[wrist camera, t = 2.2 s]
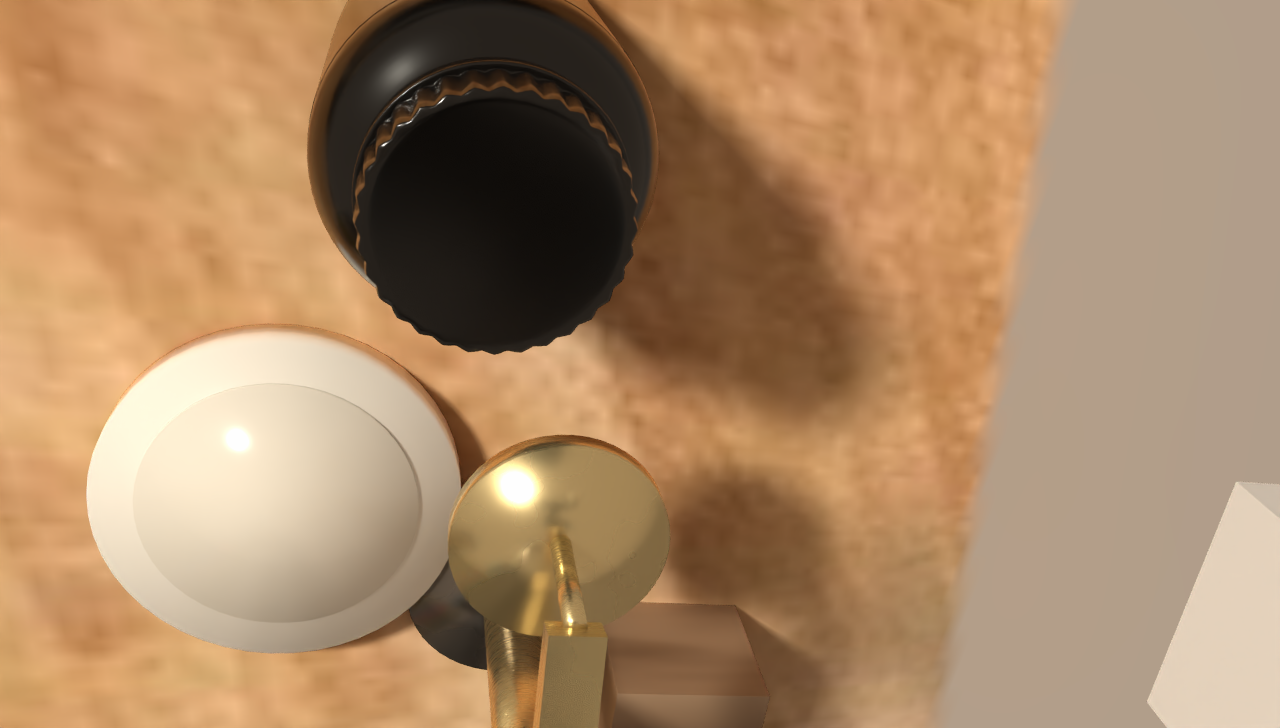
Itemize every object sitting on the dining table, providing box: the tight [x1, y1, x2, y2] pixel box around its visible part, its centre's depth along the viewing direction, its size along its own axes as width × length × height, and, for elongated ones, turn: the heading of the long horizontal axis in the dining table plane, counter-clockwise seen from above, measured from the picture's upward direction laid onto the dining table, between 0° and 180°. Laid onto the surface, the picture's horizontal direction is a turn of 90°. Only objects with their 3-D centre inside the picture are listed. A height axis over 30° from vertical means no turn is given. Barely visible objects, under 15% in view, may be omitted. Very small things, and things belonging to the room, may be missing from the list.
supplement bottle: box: [307, 0, 659, 355], centre depth 26 cm, size 7×7×12 cm
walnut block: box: [598, 602, 770, 728], centre depth 38 cm, size 4×4×4 cm
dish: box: [86, 324, 461, 653], centre depth 34 cm, size 10×10×1 cm
